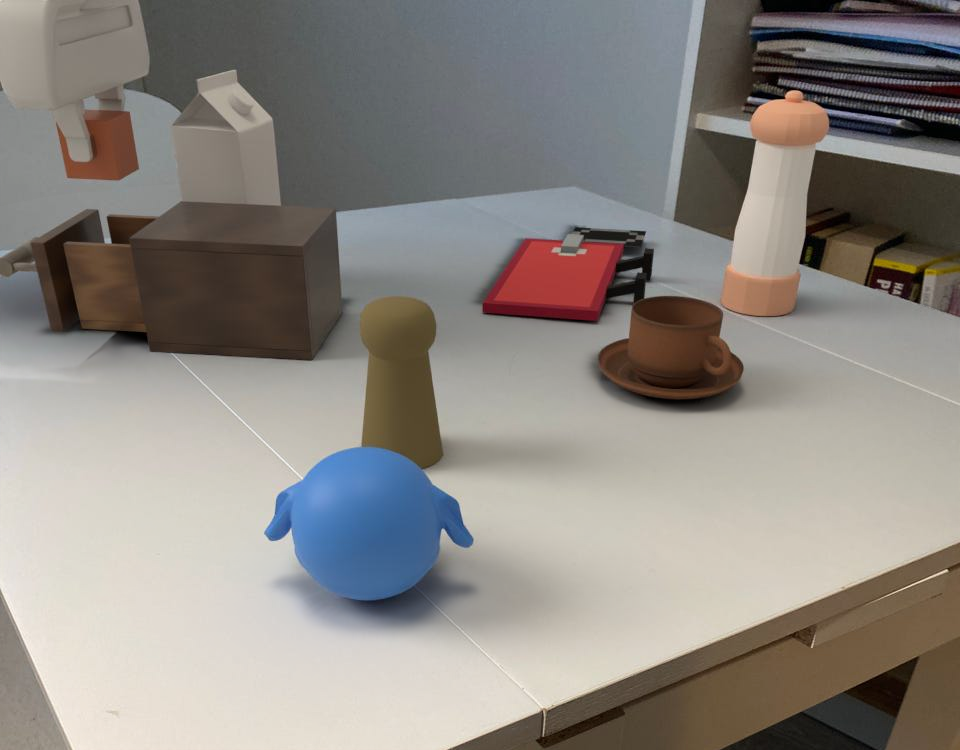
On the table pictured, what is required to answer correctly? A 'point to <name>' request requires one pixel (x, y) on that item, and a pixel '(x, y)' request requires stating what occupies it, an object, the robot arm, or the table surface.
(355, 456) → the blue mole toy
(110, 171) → the block
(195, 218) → the cabinet
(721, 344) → the cup and saucer
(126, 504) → the table surface
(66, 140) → the robot arm
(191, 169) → the milk carton
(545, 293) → the red board with handle
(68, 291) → the drawer
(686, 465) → the table surface
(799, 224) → the pepper shaker
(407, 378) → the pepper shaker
